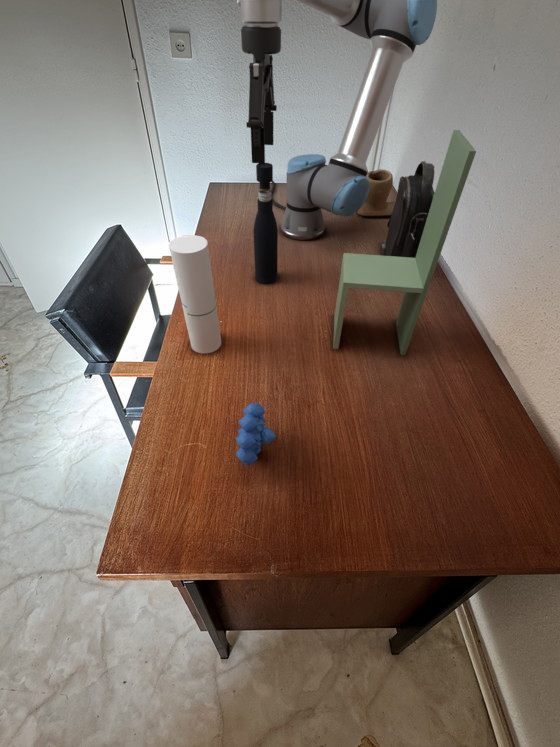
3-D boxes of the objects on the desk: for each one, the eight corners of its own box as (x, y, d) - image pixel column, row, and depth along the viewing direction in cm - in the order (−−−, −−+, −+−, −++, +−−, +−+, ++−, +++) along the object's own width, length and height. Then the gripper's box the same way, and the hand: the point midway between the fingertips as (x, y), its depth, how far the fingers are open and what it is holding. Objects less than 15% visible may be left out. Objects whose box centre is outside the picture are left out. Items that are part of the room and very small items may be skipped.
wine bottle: (274, 285, 105) (275, 170, 83) (253, 282, 106) (247, 168, 84) (279, 273, 109) (280, 161, 88) (258, 271, 110) (254, 159, 89)
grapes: (270, 485, 63) (269, 446, 54) (231, 479, 64) (225, 440, 55) (281, 429, 71) (282, 388, 62) (246, 424, 72) (243, 383, 63)
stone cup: (356, 221, 135) (364, 176, 124) (353, 207, 143) (359, 165, 132) (398, 221, 134) (409, 177, 124) (392, 208, 143) (401, 165, 132)
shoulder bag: (417, 284, 106) (451, 180, 86) (385, 281, 107) (411, 177, 87) (409, 246, 122) (436, 150, 101) (381, 244, 122) (402, 149, 102)
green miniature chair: (334, 317, 95) (361, 125, 65) (399, 323, 94) (459, 129, 63) (333, 348, 87) (364, 145, 56) (405, 355, 86) (476, 151, 55)
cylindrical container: (209, 329, 91) (192, 231, 73) (227, 343, 88) (215, 244, 70) (185, 343, 88) (161, 243, 70) (203, 357, 84) (183, 257, 66)
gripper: (252, 20, 78) (256, 137, 93) (226, 29, 60) (235, 170, 76) (288, 21, 77) (285, 138, 92) (271, 30, 60) (272, 172, 75)
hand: (263, 153), depth 84 cm, fingers open, 13 cm apart
